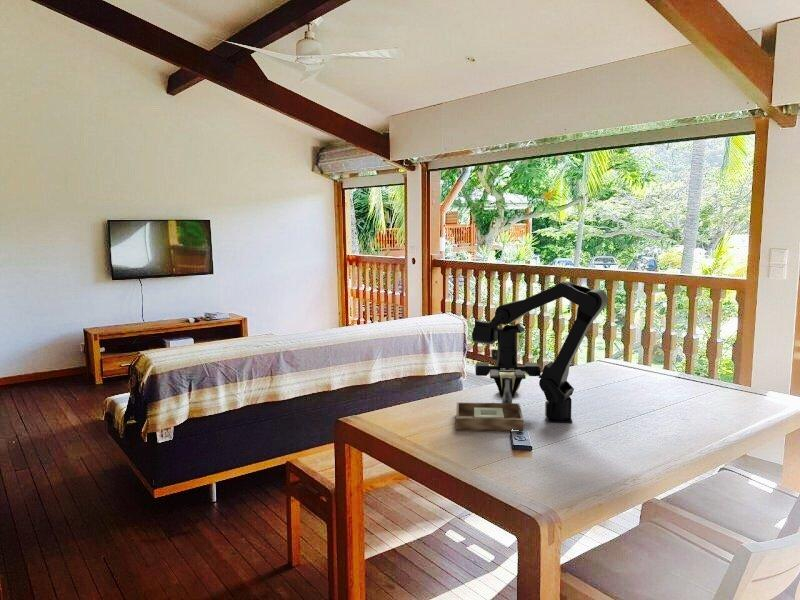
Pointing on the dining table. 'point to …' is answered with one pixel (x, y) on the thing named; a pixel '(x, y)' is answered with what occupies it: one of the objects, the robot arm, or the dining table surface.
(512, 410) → the crate
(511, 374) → the fruit
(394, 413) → the dining table surface
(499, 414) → the bore plate
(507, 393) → the peg
